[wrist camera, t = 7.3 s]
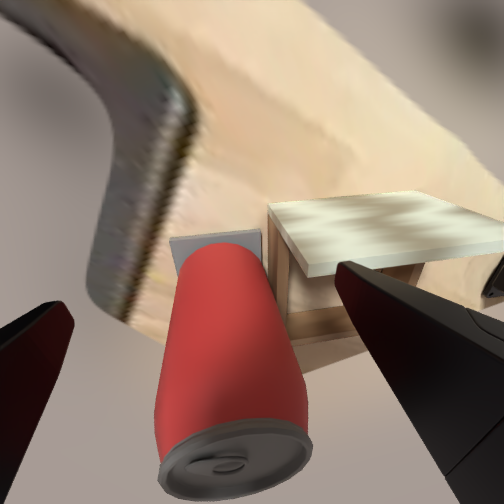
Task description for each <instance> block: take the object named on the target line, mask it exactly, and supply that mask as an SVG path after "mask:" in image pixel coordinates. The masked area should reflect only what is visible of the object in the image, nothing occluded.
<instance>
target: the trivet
mask: <svg viewBox="0 0 504 504" xmlns="http://www.w3.org/2000/svg"><path fill="white" fill-rule="evenodd" d="M223 242H225V243H232V244H238V245H240V246H242V247H245V248H247V249H249V250H251V251H252V252H253V253H254V254H255V255H256V256H257V257H258V258H259V259H260V261H261V231H260V229H253V230H243V231H233V232H224V233H214V234H204V235H195V236H185V237H175V238H170V240H169V243H170V247H171V251H172V255H173V259H174V263H175V267H176V271H177V275H178V276H179V271H180V268H181V267H182V265H183V263H184V261H185V260H186V259H187V258H188V257H189V256H190V255H191V254H192V253H194V252H195V251H196V250H198V249H200V248H202V247H205V246H207V245H209V244H215V243H223Z"/></svg>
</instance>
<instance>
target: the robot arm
mask: <svg viewBox="0 0 504 504" xmlns="http://www.w3.org/2000/svg"><path fill="white" fill-rule="evenodd" d="M334 283H335V287H336V290H337V292H338V294H339V296H340V298H341V300H342V303H343V305H344V307H345V309H346V311H347V313H348V316H349V318H350V320H351V322H352V324H353V326H354V327H355V329H356V331H357V332H358V334H359V336H360V337H361V339H362V341H363V342H364V344H365V346H366V347H367V349H368V351H369V352H370V354H371V356H372V357H373V359H374V360H375V362H376V364H377V366H378V367H379V369H380V371H381V372H382V374H383V376H384V377H385V379H386V381H387V382H388V384H389V386H390V387H391V389H392V391H393V392H394V394H395V396H396V397H397V399H398V401H399V402H400V404H401V406H402V407H403V409H404V411H405V412H406V414H407V416H408V417H409V419H410V421H411V422H412V424H413V426H414V427H415V429H416V431H417V432H418V434H419V436H420V437H421V439H422V441H423V442H424V444H425V446H426V447H427V449H428V451H429V452H430V454H431V456H432V457H433V459H434V461H435V462H436V464H437V466H438V467H439V469H440V471H441V472H442V474H443V475H444V476H445V480H446V481H447V483H448V485H449V486H450V488H451V490H452V491H453V493H454V494H455V496H456V498H457V499H458V501H459V503H460V504H504V322H502V321H500V320H497V319H494V318H492V317H489V316H487V315H484V314H482V313H479V312H477V311H474V310H472V309H469V308H465V307H464V306H462V305H459V304H457V303H454V302H452V301H449V300H447V299H444V298H442V297H439V296H437V295H434V294H432V293H429V292H427V291H425V290H422V289H420V288H417V287H415V286H412V285H410V284H407V283H405V282H402V281H400V280H397V279H395V278H392V277H390V276H387V275H385V274H382V273H380V272H377V271H375V270H372V269H370V268H368V267H365V266H363V265H360V264H358V263H355V262H353V261H342V262H339V263H338V264H337V268H336V274H335V280H334ZM483 295H484V296H486V297H487V298H492V297H498V296H504V259H503V261H502V262H501V264H500V266H499V267H498V269H497V271H496V273H495V274H494V276H493V278H492V279H491V281H490V283H489V284H488V286H487V288H486V289H485V291H484V293H483ZM73 329H74V319H73V317H72V315H71V314H70V312H69V310H68V309H67V307H66V305H65V304H64V303H63V302H62V301H51V302H46V303H43V304H41V305H40V306H38V307H36V308H34V309H33V310H31V311H29V312H28V313H26V314H24V315H22V316H21V317H19V318H17V319H16V320H14V321H12V322H11V323H9V324H7V325H6V326H4V327H2V328H0V504H4V502H5V499H6V497H7V495H8V492H9V490H10V488H11V486H12V483H13V481H14V479H15V476H16V474H17V472H18V469H19V467H20V465H21V462H22V460H23V458H24V455H25V453H26V451H27V448H28V446H29V444H30V441H31V439H32V437H33V434H34V432H35V430H36V428H37V425H38V423H39V420H40V418H41V416H42V414H43V411H44V409H45V407H46V404H47V402H48V399H49V397H50V395H51V393H52V390H53V388H54V386H55V383H56V381H57V379H58V376H59V373H60V370H61V368H62V365H63V361H64V358H65V355H66V352H67V349H68V345H69V342H70V339H71V336H72V333H73Z"/></svg>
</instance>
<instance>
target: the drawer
mask: <svg viewBox="0 0 504 504" xmlns="http://www.w3.org/2000/svg"><path fill="white" fill-rule="evenodd" d="M290 250H291V252H292V253H293V255H294V257H295V258H296V260H297V262H298V263H299V265H300V267H301V268H302V270H303V271H304V273H305V275H306V276H307V278H310V277H317V276H325V275H332V274H336V268H337V264H338V263H339V262H342V261H353V262H355V263H358V264H360V265H363V266H365V267H368V268H370V269H378V268H383V270H382V274H385V275H387V276H390V277H392V278H395V279H397V280H400V281H402V282H405V283H407V284H410V285H412V286H415V287H416V284H417V282H418V279H419V277H420V274H421V272H422V269H423V267H424V264H425V262H431V261H439V260H446V259H454V258H461V257H469V256H477V255H484V254H492V253H499V252H504V222H501V221H498V220H495V219H493V218H490V217H487V216H484V215H482V214H479V213H476V212H474V211H471V210H468V209H465V208H463V207H460V206H457V205H454V204H452V203H449V202H446V201H443V200H441V199H438V198H435V197H432V196H430V195H427V194H424V193H422V192H419V191H416V190H411V191H400V192H389V193H378V194H367V195H356V196H345V197H334V198H323V199H312V200H301V201H290V202H279V203H268V281H269V284H270V287H271V290H272V292H273V295H274V298H275V301H276V303H277V306H278V309H279V312H280V315H281V317H282V320H283V323H284V326H285V328H286V331H287V334H288V337H289V339H290V342H291V345H292V346H298V345H304V344H310V343H316V342H322V341H328V340H334V339H340V338H346V337H352V336H358V335H359V334H358V332H357V331H356V329H355V327H354V326H353V324H352V322H351V320H350V318H349V316H348V313H347V311H346V309H345V307H344V306H339V307H332V308H325V309H319V310H312V311H305V312H299V313H292V314H287V294H288V274H289V255H290Z"/></svg>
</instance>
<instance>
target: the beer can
mask: <svg viewBox="0 0 504 504" xmlns="http://www.w3.org/2000/svg"><path fill="white" fill-rule="evenodd" d="M154 426H155V437H156V442H157V447H158V452H159V457H160V462H161V464H160V468H159V475H158V482H159V484H160V485H161V486H162V488H163V489H164V491H165V492H166V493H167V494H170V495H172V496H174V497H176V498H178V499H183V500H190V501H220V500H228V499H235V498H239V497H244V496H247V495H252V494H256V493H258V492H261V491H264V490H267V489H269V488H272V487H275V486H276V485H278V484H280V483H282V482H284V481H286V480H288V479H290V478H291V477H292V476H294V475H295V474H297V473H298V472H300V471H301V470H302V469H303V468H304V466H305V465H306V464H307V463H308V461H309V460H310V457H311V455H312V449H313V444H312V441H311V440H310V438H309V436H308V398H307V390H306V384H305V381H304V378H303V376H302V373H301V370H300V367H299V364H298V362H297V359H296V356H295V353H294V351H293V348H292V345H291V342H290V339H289V337H288V334H287V331H286V328H285V326H284V323H283V320H282V317H281V315H280V312H279V309H278V306H277V303H276V301H275V298H274V295H273V292H272V290H271V287H270V284H269V281H268V279H267V276H266V273H265V270H264V268H263V266H262V263H261V261H260V259H259V258H258V257H257V256H256V255H255V254H254V253H253V252H252V251H251V250H249V249H247V248H245V247H242V246H240V245H238V244H232V243H225V242H223V243H215V244H209V245H207V246H205V247H202V248H200V249H198V250H196V251H195V252H194V253H192V254H191V255H190V256H189V257H188V258H187V259H186V260H185V261H184V263H183V265H182V267H181V268H180V271H179V276H178V282H177V287H176V292H175V298H174V303H173V309H172V314H171V320H170V325H169V330H168V336H167V341H166V347H165V353H164V358H163V363H162V369H161V374H160V379H159V385H158V391H157V396H156V402H155V410H154Z"/></svg>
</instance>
